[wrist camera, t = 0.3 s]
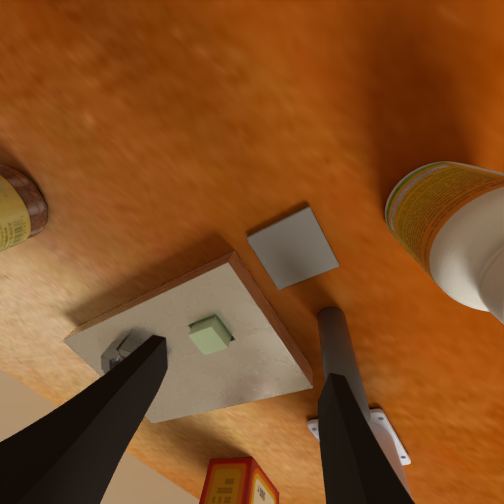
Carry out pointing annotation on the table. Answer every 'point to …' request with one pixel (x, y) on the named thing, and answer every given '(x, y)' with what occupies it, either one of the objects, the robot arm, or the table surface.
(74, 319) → the table surface
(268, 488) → the baking soda box
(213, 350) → the pad
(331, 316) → the dark grey cylinder
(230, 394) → the panel
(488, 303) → the supplement bottle
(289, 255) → the pad
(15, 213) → the sauce bottle
